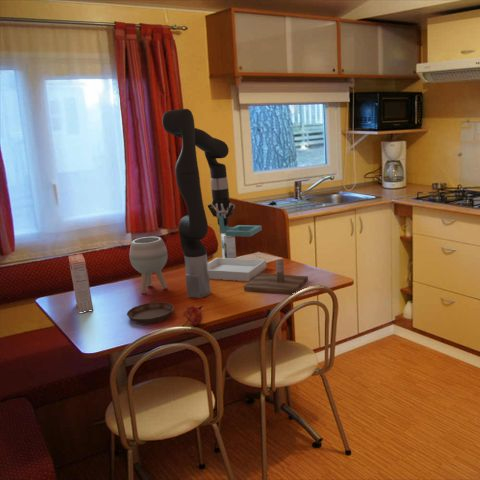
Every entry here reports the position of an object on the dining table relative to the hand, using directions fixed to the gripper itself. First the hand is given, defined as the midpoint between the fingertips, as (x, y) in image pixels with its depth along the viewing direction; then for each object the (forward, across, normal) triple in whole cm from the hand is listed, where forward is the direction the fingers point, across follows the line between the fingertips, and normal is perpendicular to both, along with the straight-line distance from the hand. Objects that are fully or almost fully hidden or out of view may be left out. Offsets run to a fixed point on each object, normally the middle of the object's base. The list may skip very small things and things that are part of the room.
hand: (223, 225), depth 244 cm
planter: (+23, -24, -26) cm, 42 cm away
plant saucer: (+23, -5, -54) cm, 59 cm away
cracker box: (+23, -39, -53) cm, 69 cm away
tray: (+23, +1, +3) cm, 24 cm away
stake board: (+23, +28, -9) cm, 38 cm away
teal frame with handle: (+3, +8, 0) cm, 8 cm away
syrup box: (+24, -9, +19) cm, 32 cm away
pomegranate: (+23, +15, -56) cm, 63 cm away
